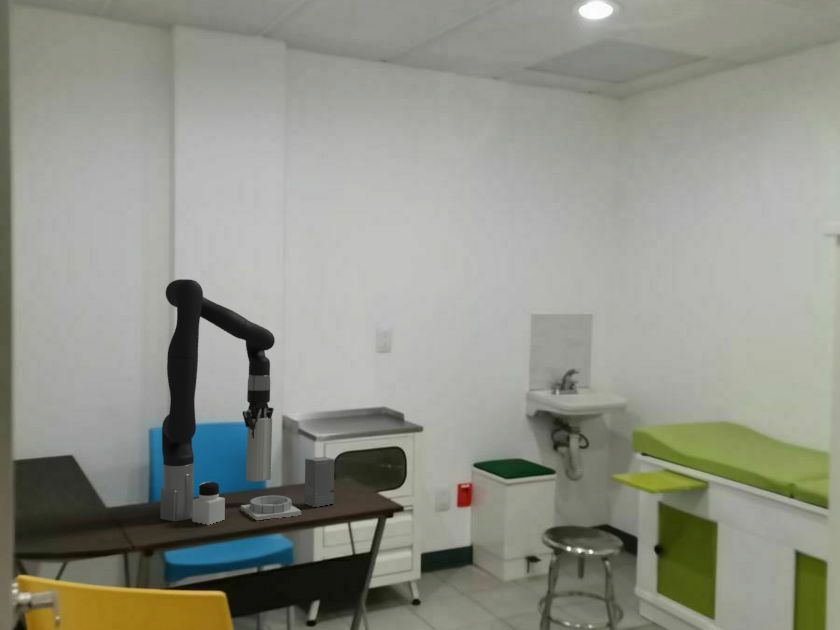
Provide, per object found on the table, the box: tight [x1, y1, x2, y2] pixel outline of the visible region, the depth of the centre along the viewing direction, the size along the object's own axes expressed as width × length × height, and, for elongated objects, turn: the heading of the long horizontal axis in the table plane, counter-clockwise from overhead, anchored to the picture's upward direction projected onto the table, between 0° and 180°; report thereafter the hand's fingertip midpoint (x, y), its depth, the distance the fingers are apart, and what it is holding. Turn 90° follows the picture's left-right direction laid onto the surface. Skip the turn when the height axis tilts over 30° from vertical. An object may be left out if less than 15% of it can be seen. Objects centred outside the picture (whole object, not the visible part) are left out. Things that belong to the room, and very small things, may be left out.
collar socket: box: [240, 495, 302, 521], centre depth 270 cm, size 15×15×4 cm
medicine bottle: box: [191, 481, 226, 526], centre depth 259 cm, size 7×7×12 cm
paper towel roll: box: [245, 417, 273, 482], centre depth 281 cm, size 7×6×21 cm
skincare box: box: [304, 456, 335, 508], centre depth 281 cm, size 8×7×16 cm
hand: (257, 438), depth 280 cm, fingers closed on paper towel roll, 3 cm apart
